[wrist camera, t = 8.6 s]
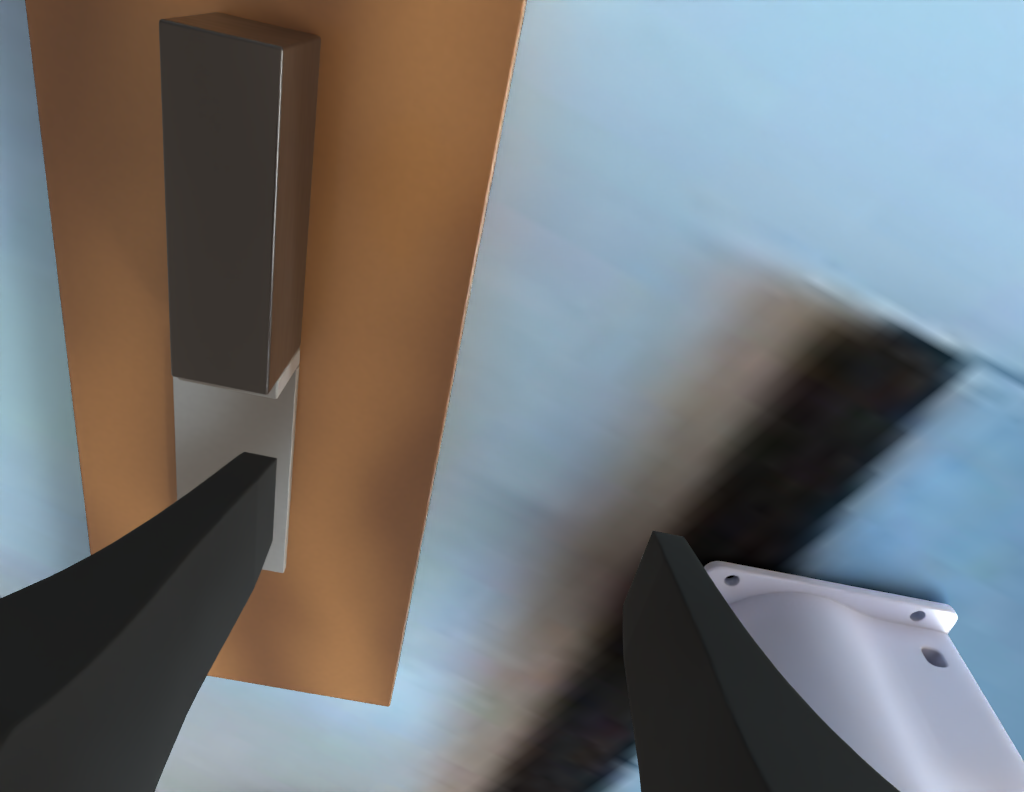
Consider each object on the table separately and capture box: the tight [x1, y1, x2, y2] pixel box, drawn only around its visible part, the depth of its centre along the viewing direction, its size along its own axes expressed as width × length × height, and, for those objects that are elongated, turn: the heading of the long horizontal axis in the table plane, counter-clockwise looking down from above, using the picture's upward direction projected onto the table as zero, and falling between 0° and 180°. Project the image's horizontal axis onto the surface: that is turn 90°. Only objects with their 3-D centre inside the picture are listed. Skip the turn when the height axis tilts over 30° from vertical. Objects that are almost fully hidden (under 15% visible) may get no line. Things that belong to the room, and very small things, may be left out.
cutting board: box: [25, 0, 527, 706], centre depth 22 cm, size 11×26×2 cm, turn 168°
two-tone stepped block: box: [159, 12, 321, 573], centre depth 19 cm, size 4×17×3 cm, turn 168°
